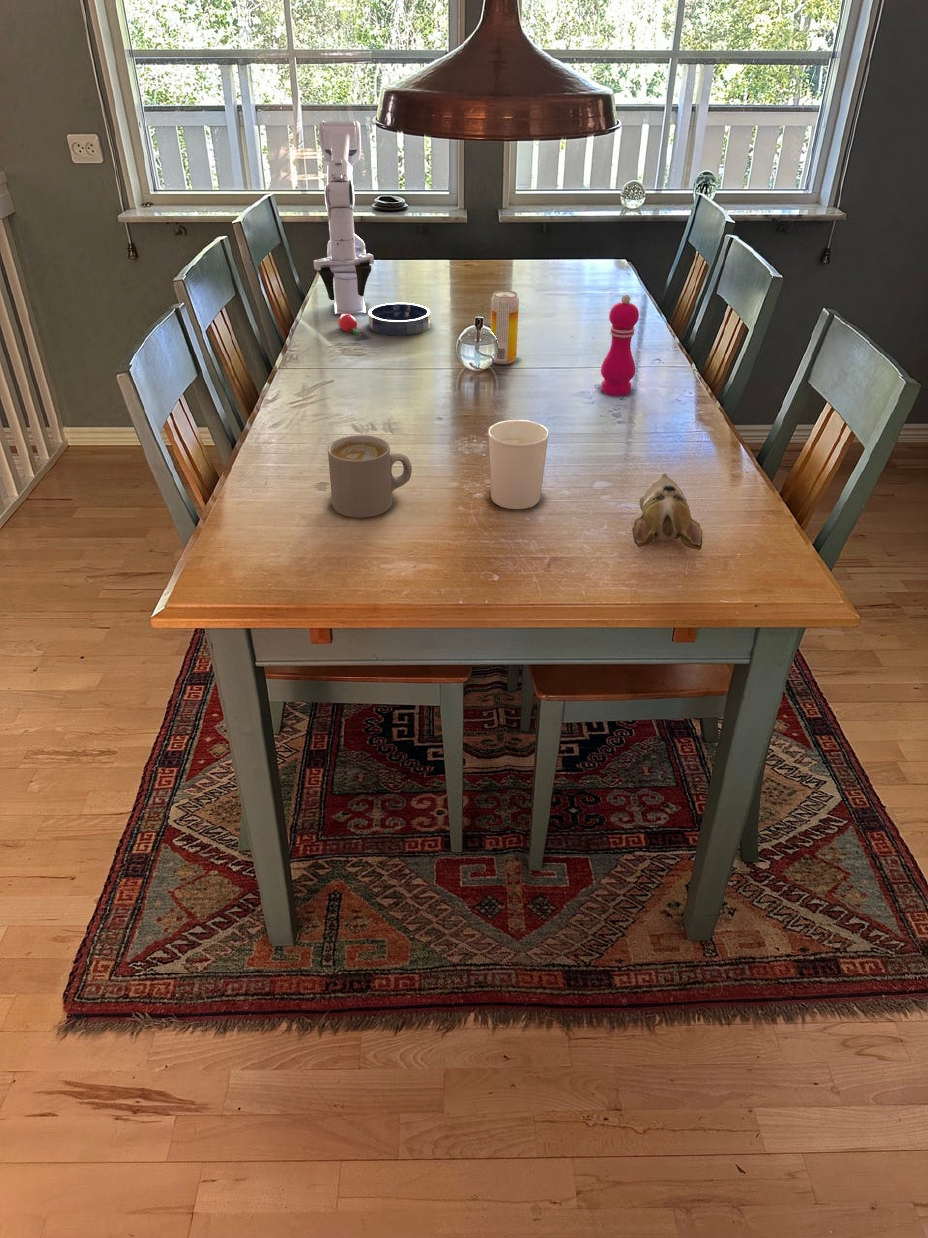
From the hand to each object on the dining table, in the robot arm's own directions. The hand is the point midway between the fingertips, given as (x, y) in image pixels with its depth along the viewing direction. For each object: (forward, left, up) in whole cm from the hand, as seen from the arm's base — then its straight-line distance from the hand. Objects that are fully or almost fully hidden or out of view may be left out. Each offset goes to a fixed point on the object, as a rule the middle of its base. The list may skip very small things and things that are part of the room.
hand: (346, 297), depth 218 cm
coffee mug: (+91, +2, -8) cm, 92 cm away
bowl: (-1, +13, -8) cm, 15 cm away
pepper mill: (+46, +56, -8) cm, 73 cm away
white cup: (+92, +26, -8) cm, 96 cm away
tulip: (+3, +1, -8) cm, 9 cm away
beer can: (+25, +35, -8) cm, 44 cm away
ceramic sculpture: (+107, +47, -8) cm, 117 cm away
